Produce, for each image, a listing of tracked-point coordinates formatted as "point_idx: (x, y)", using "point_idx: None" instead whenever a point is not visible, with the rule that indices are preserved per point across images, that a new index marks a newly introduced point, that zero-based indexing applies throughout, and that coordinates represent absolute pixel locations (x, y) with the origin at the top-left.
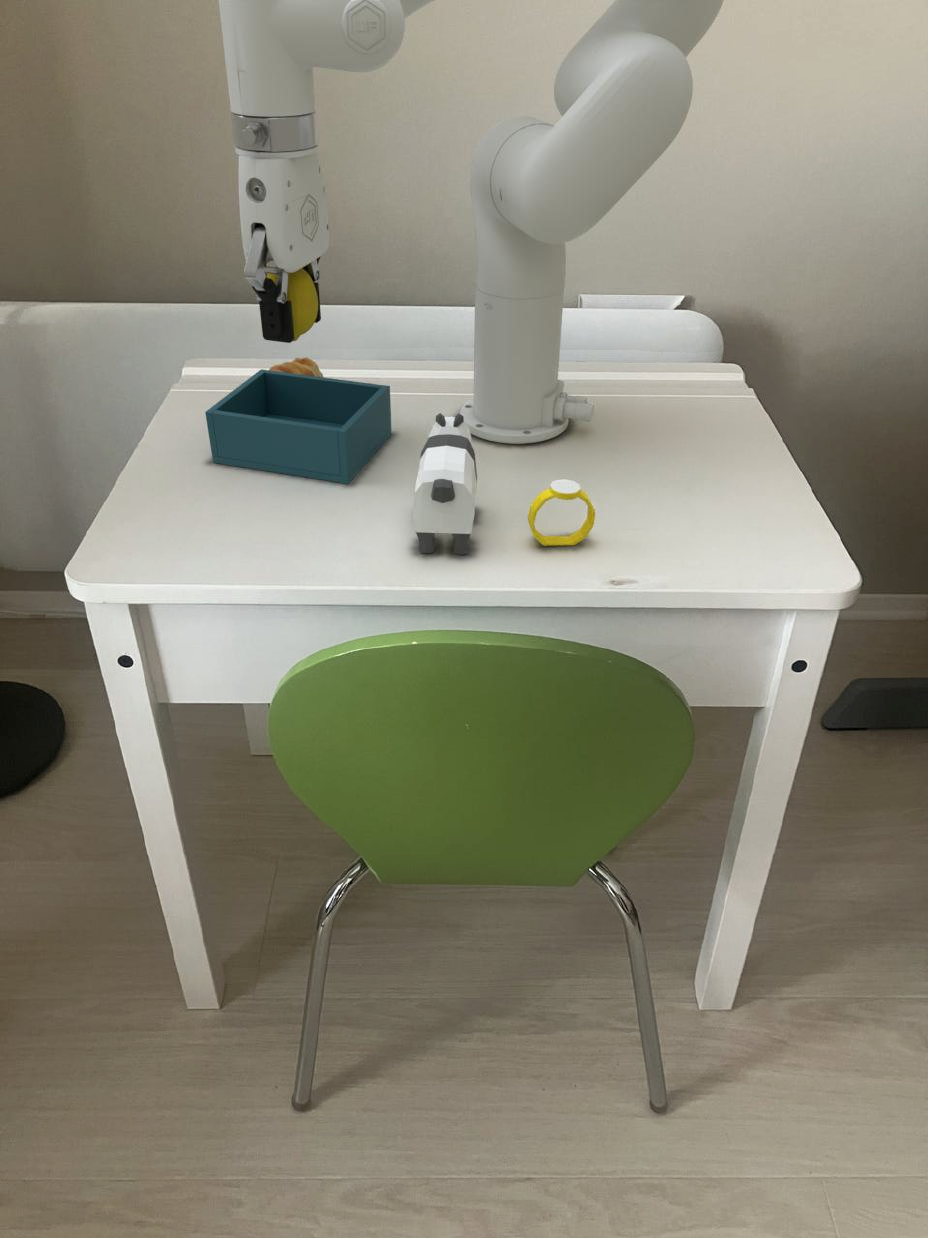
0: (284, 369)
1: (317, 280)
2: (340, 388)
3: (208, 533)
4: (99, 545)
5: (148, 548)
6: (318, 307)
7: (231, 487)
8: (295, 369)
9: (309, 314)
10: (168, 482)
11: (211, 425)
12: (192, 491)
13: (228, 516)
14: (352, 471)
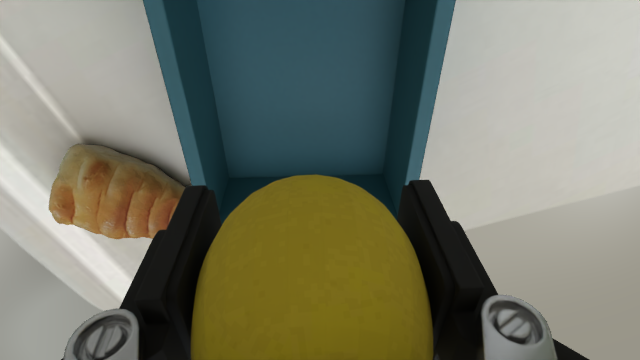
0: (120, 216)
1: (117, 312)
2: (183, 67)
3: (602, 84)
4: (613, 185)
5: (632, 135)
6: (187, 216)
7: (459, 120)
8: (106, 202)
9: (353, 199)
10: (453, 195)
11: None
12: (475, 160)
13: (551, 82)
14: None
